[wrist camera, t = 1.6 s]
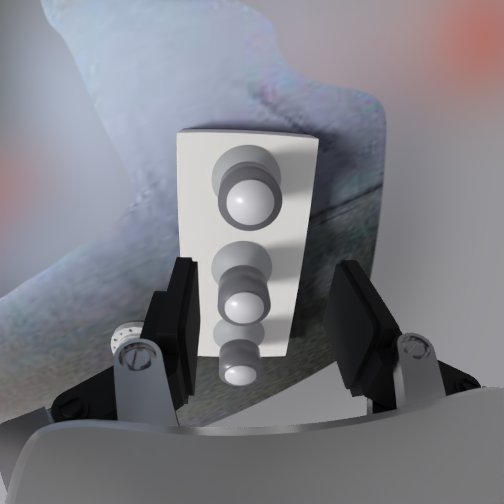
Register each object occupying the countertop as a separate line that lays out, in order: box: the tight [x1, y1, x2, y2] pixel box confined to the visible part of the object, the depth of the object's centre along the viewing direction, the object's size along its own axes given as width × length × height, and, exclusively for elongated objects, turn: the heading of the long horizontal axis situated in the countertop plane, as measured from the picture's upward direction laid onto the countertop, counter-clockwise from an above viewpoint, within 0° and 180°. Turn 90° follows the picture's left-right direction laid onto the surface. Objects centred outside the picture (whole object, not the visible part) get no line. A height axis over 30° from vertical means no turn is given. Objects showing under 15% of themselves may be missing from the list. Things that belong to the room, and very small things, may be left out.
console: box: [177, 129, 319, 356], centre depth 31 cm, size 26×12×3 cm, turn 177°
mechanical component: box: [111, 322, 144, 353], centre depth 37 cm, size 10×4×10 cm
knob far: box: [219, 339, 262, 386], centre depth 30 cm, size 4×4×3 cm
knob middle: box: [217, 265, 271, 326], centre depth 26 cm, size 4×4×3 cm
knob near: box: [218, 161, 282, 231], centre depth 22 cm, size 4×4×3 cm
